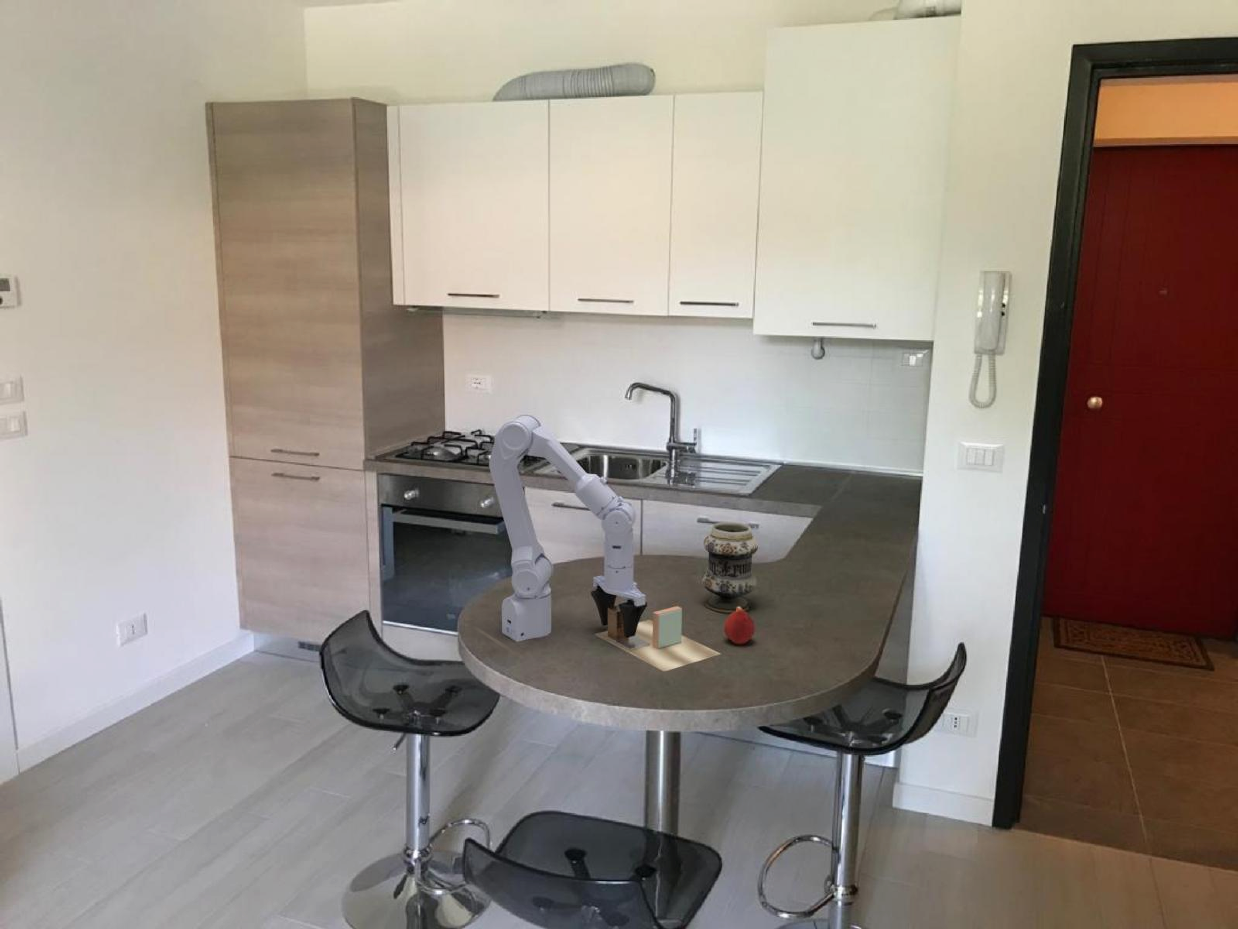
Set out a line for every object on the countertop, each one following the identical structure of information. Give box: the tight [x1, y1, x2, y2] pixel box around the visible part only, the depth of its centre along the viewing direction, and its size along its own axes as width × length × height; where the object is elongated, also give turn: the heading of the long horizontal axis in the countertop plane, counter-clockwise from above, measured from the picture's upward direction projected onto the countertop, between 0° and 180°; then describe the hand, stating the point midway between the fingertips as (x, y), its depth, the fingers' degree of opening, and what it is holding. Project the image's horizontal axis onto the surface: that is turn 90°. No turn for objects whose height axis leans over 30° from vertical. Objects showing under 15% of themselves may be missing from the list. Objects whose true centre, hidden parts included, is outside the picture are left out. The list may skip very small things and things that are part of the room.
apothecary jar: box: [701, 521, 759, 614], centre depth 205 cm, size 12×12×18 cm
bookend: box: [607, 605, 650, 651], centre depth 183 cm, size 5×8×6 cm, turn 36°
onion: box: [723, 607, 756, 645], centre depth 183 cm, size 6×6×8 cm
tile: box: [652, 605, 683, 649], centre depth 181 cm, size 6×2×7 cm, turn 126°
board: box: [593, 619, 722, 673], centre depth 182 cm, size 14×22×1 cm, turn 37°
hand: (618, 630), depth 185 cm, fingers open, 7 cm apart
